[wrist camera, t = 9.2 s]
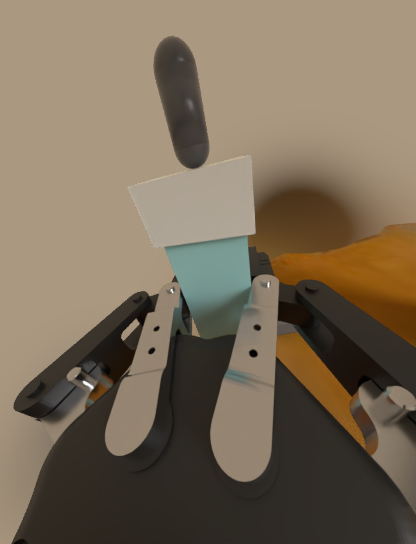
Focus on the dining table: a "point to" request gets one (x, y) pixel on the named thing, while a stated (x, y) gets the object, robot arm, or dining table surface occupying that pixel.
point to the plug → (199, 203)
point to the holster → (285, 328)
